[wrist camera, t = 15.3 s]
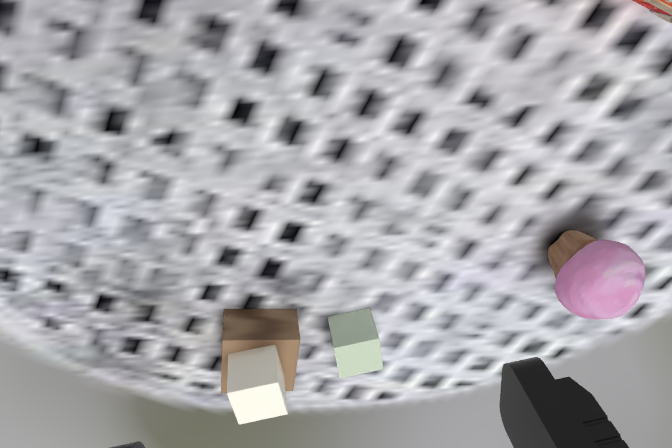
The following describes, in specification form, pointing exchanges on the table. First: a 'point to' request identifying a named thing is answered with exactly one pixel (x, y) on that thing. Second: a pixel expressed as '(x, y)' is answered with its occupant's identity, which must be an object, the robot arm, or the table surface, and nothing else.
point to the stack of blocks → (659, 8)
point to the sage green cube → (355, 342)
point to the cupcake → (595, 275)
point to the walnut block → (262, 337)
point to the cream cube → (256, 384)
